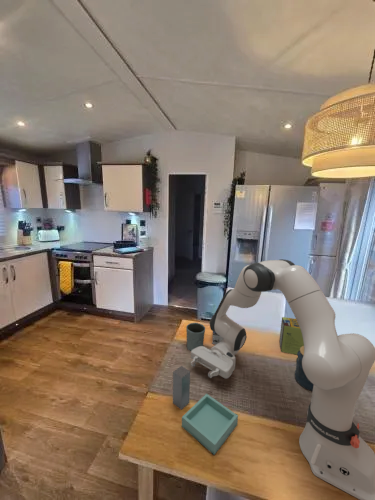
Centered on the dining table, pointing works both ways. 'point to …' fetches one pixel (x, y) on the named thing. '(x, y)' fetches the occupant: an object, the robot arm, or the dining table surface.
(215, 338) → the light bulb box
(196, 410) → the tray
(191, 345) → the dark green embossed cup
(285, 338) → the protein box
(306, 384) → the canister
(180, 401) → the brushed steel pillar
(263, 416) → the dining table surface
